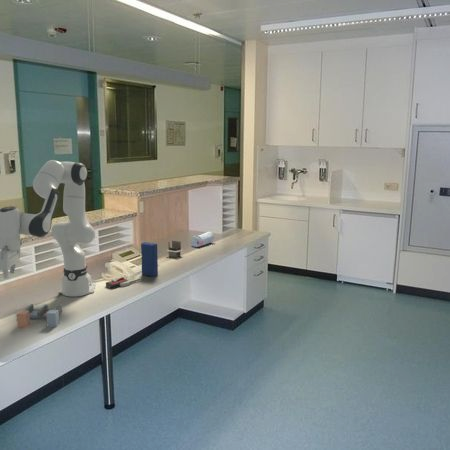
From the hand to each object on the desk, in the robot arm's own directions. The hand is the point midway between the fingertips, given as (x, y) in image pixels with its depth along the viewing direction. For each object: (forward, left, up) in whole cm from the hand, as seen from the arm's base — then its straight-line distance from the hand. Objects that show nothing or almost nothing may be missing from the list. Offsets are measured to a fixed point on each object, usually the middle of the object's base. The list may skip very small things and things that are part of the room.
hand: (9, 275), depth 200 cm
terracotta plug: (-3, +3, -25) cm, 25 cm away
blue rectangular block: (-80, +48, -25) cm, 96 cm away
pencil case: (-158, +77, -25) cm, 177 cm away
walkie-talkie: (-62, +35, -25) cm, 75 cm away
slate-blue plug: (-4, +16, -25) cm, 30 cm away
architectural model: (-123, +59, -25) cm, 139 cm away
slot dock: (-15, +7, -25) cm, 30 cm away
